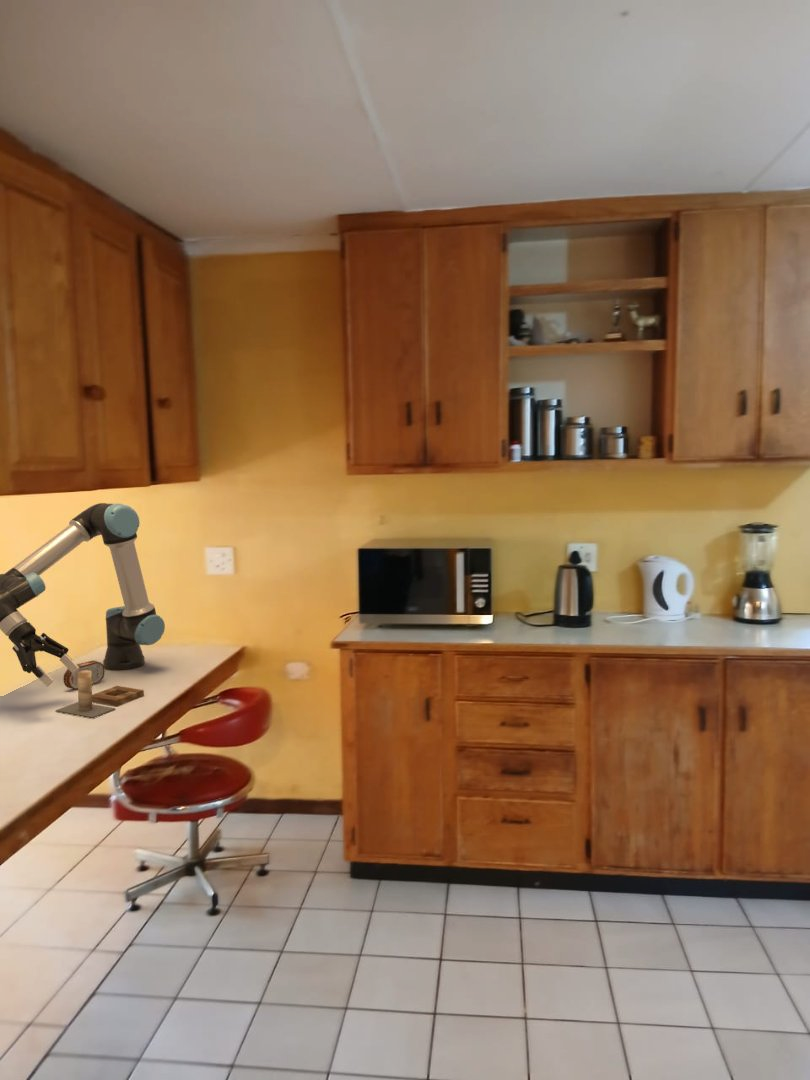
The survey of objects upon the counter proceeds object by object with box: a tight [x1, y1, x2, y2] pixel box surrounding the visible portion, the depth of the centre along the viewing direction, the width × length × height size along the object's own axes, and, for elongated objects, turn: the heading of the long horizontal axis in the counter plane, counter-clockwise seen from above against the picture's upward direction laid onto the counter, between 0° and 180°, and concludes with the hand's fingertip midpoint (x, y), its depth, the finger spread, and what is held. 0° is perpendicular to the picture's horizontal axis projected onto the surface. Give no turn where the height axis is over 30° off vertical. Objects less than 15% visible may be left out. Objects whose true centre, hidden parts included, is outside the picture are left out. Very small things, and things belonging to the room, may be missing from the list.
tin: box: [63, 660, 106, 690], centre depth 258 cm, size 15×3×8 cm, turn 149°
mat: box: [55, 701, 116, 719], centre depth 232 cm, size 9×16×1 cm, turn 66°
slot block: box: [92, 685, 145, 708], centre depth 244 cm, size 12×12×2 cm
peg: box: [77, 670, 93, 711], centre depth 232 cm, size 4×4×12 cm
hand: (63, 677), depth 232 cm, fingers open, 13 cm apart
